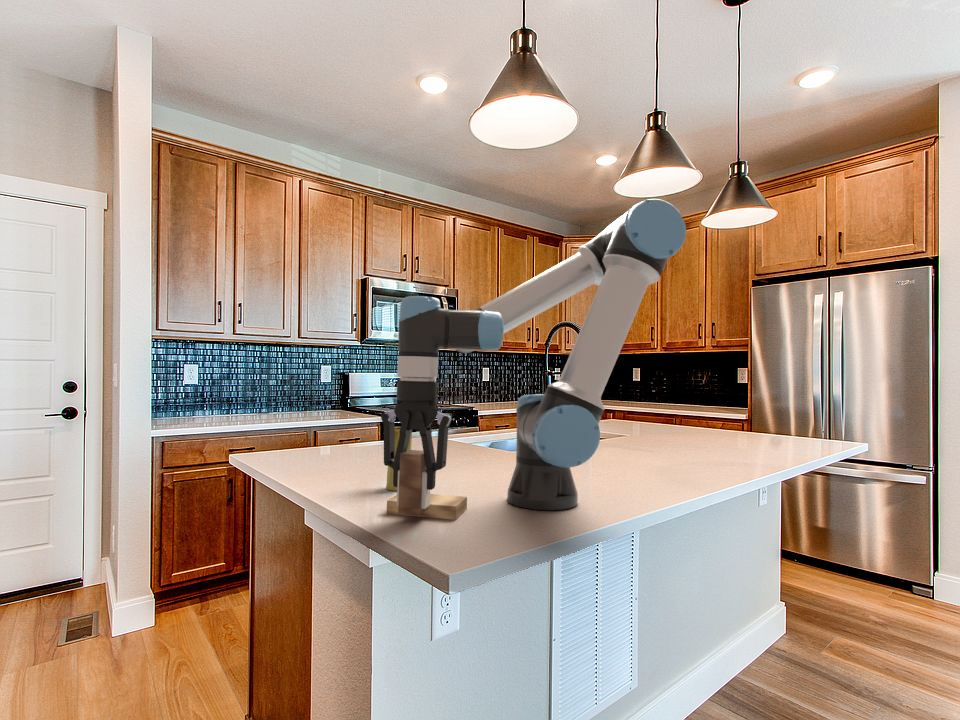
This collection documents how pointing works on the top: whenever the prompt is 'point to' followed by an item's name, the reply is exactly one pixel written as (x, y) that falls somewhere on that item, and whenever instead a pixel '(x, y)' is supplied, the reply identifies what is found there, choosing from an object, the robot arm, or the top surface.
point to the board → (436, 506)
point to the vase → (390, 469)
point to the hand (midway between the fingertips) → (413, 505)
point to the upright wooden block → (411, 483)
